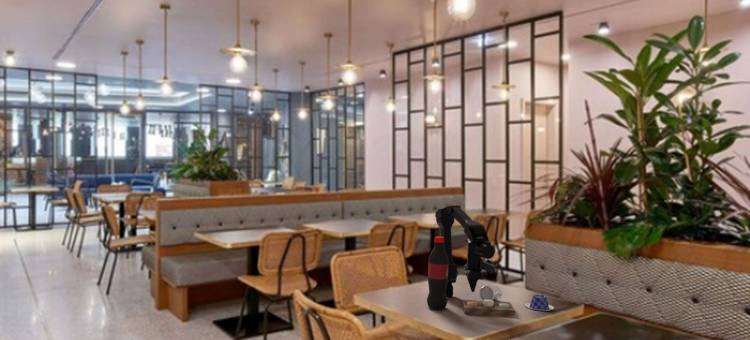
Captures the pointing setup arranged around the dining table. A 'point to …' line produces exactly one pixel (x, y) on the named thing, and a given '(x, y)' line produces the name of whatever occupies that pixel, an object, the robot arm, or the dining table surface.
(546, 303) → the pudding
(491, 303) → the cream button
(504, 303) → the green button
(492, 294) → the beer glass
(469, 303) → the brown rounded piece
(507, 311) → the button panel
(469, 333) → the dining table surface
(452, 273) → the robot arm
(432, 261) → the cola bottle
